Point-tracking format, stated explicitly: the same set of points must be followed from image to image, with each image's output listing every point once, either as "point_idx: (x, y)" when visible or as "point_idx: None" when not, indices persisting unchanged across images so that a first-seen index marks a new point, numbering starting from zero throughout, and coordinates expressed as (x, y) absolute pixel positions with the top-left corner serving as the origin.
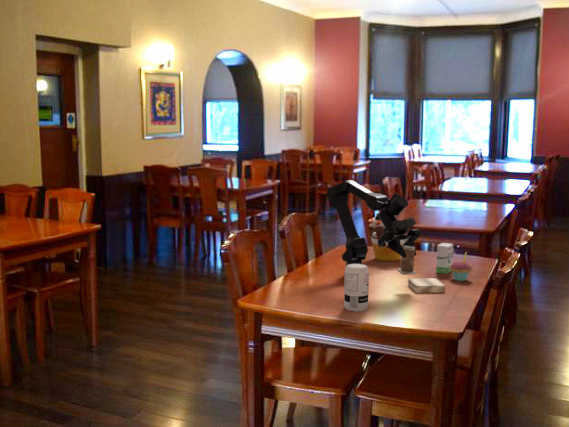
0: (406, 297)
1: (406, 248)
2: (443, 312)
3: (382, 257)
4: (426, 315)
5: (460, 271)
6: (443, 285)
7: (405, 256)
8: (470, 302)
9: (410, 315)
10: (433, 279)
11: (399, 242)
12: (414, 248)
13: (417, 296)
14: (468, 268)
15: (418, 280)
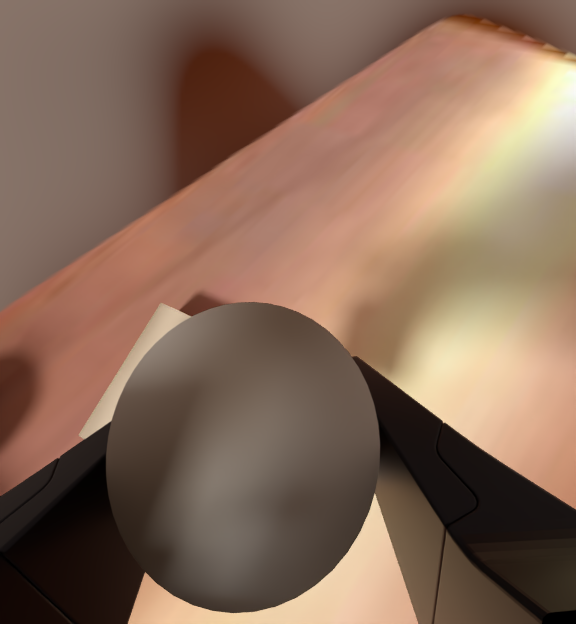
0: (380, 317)
1: (344, 351)
2: (370, 133)
3: None
4: (445, 126)
5: None
6: (166, 305)
7: (357, 361)
8: (211, 181)
9: (501, 140)
10: (109, 420)
11: (530, 565)
12: (193, 324)
13: (324, 309)
14: None
15: None
